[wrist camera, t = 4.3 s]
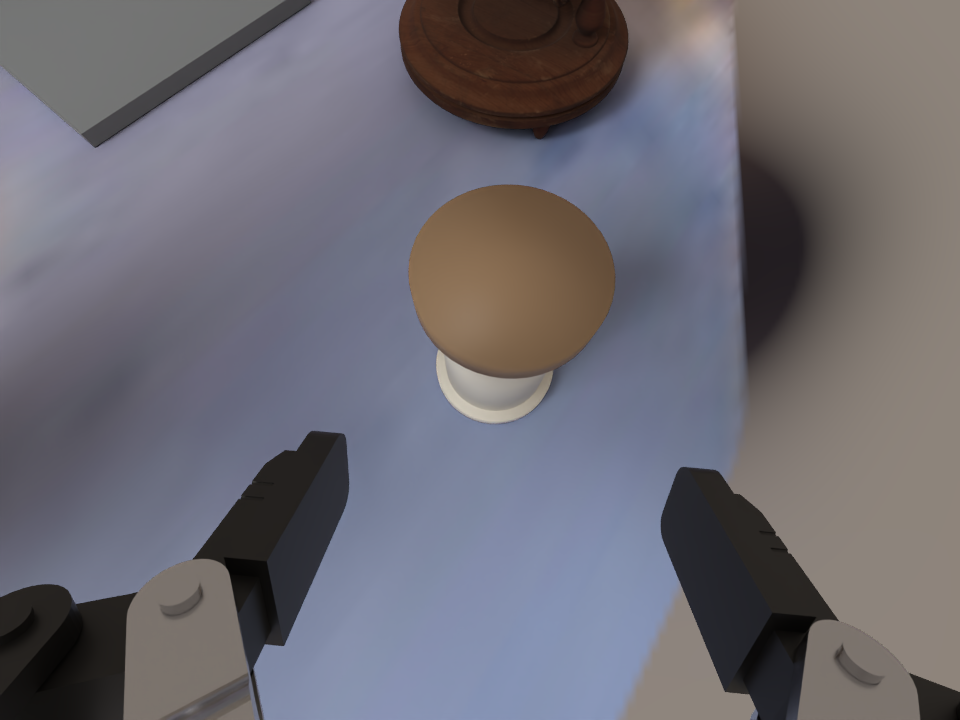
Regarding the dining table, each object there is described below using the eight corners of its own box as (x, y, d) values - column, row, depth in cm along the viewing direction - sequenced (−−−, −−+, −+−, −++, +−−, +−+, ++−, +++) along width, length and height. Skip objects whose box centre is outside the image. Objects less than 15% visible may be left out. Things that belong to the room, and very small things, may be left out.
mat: (94, 147, 27) (81, 134, 26) (-60, 13, 30) (-77, -3, 29) (310, 2, 31) (306, -14, 31) (157, -100, 35) (148, -116, 34)
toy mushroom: (552, 433, 22) (617, 376, 12) (426, 421, 22) (393, 356, 12) (556, 318, 24) (613, 193, 14) (440, 307, 24) (422, 176, 14)
